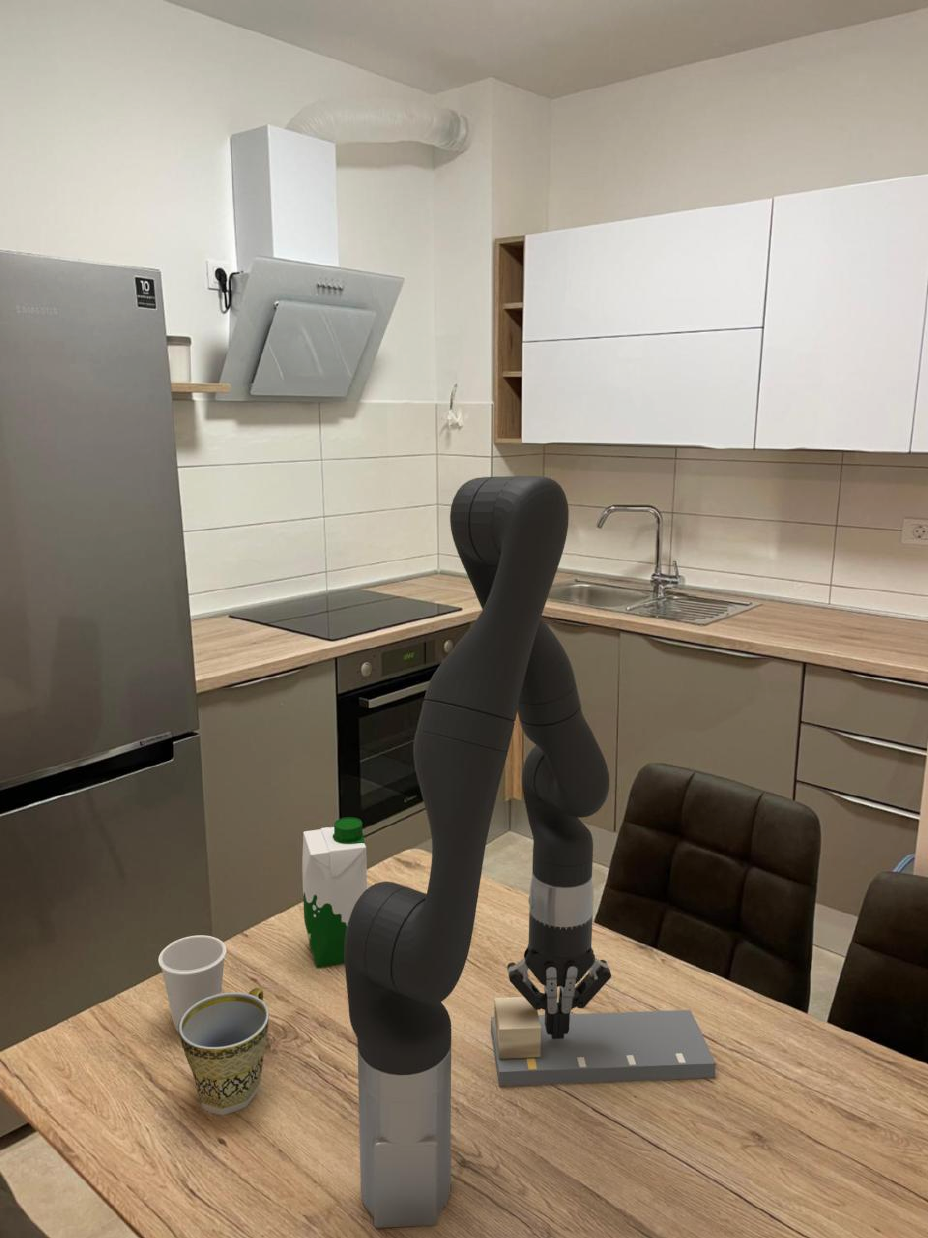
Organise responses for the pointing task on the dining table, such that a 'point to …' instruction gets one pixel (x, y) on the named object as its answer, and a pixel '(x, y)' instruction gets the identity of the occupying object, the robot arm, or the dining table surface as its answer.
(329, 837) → the soya milk
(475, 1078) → the dining table surface
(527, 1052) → the knob
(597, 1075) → the board
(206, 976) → the dixie cup
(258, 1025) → the ceramic cup
